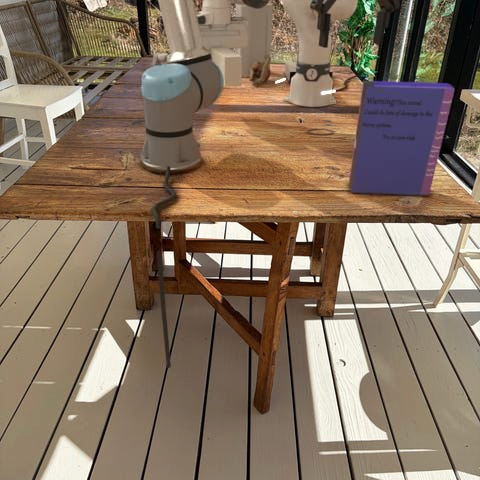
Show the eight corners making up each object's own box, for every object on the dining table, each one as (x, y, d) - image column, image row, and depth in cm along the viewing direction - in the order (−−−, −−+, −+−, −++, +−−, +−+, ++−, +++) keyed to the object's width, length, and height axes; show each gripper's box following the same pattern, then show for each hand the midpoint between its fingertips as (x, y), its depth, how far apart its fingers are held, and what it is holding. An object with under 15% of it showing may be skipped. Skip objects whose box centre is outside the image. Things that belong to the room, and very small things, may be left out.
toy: (172, 75, 209) (171, 59, 206) (148, 65, 227) (147, 49, 223) (219, 69, 221) (219, 54, 218) (193, 60, 239) (193, 45, 235)
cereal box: (423, 187, 112) (447, 82, 100) (428, 195, 108) (454, 87, 96) (348, 184, 113) (363, 79, 101) (351, 192, 109) (367, 85, 96)
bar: (241, 85, 143) (241, 56, 139) (224, 86, 142) (224, 57, 138) (222, 70, 161) (222, 44, 157) (207, 71, 160) (206, 44, 156)
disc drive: (289, 84, 198) (290, 71, 196) (284, 72, 218) (284, 61, 215) (331, 84, 199) (332, 72, 196) (322, 72, 218) (323, 61, 215)
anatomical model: (260, 88, 207) (256, 89, 193) (245, 74, 206) (240, 74, 192) (280, 65, 202) (277, 65, 188) (265, 51, 201) (261, 49, 187)
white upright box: (273, 76, 210) (276, 6, 196) (239, 77, 209) (240, 6, 194) (266, 67, 226) (268, 2, 212) (235, 67, 225) (235, 1, 210)
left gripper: (407, -68, 100) (389, 40, 111) (299, -72, 93) (291, 44, 104) (430, -69, 94) (409, 45, 105) (316, -73, 87) (306, 50, 98)
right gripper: (245, 15, 154) (244, 60, 161) (183, 16, 149) (185, 63, 156) (251, 17, 149) (250, 63, 156) (187, 19, 144) (189, 66, 151)
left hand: (350, 45), depth 105 cm, fingers open, 13 cm apart
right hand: (217, 63), depth 156 cm, fingers closed on bar, 5 cm apart
